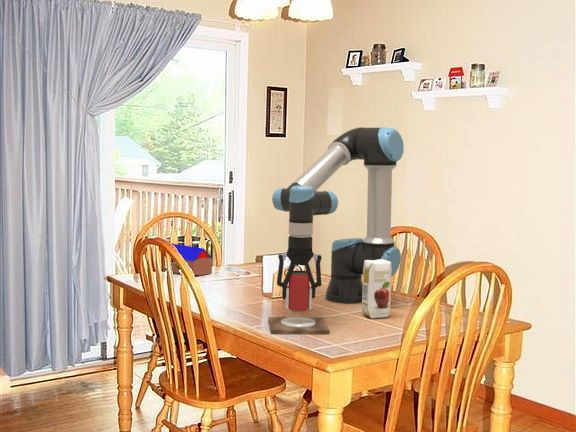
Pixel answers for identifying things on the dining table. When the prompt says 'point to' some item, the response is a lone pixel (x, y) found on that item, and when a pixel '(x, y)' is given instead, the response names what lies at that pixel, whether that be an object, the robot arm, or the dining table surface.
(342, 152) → the robot arm
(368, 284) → the juice carton
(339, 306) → the dining table surface
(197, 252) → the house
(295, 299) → the beer can
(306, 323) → the ceramic disc
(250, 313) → the dining table surface
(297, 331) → the walnut board
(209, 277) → the dining table surface
